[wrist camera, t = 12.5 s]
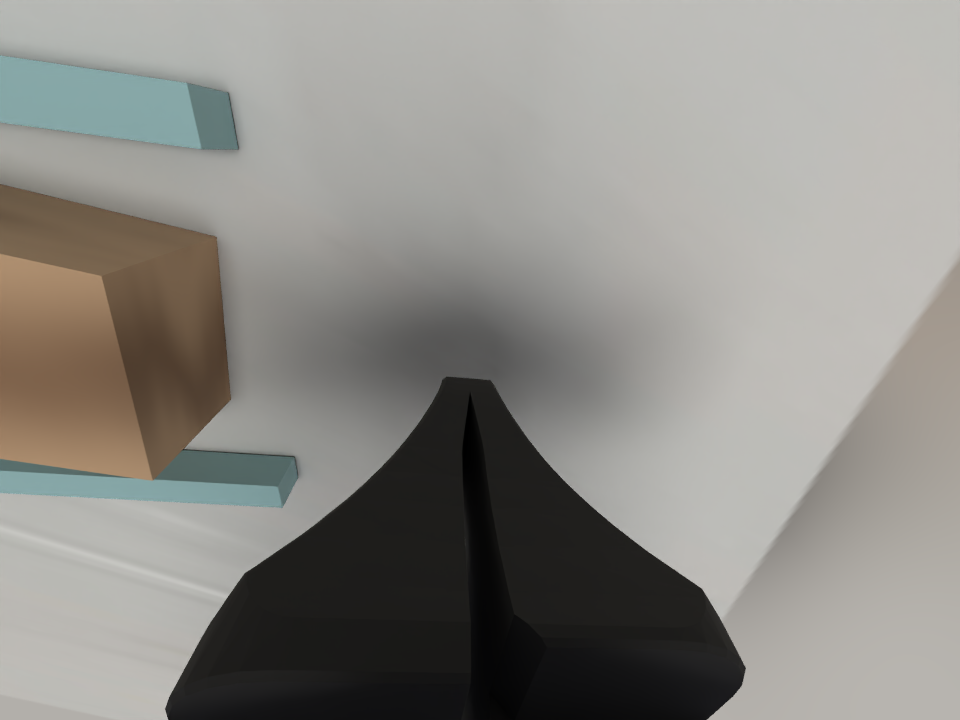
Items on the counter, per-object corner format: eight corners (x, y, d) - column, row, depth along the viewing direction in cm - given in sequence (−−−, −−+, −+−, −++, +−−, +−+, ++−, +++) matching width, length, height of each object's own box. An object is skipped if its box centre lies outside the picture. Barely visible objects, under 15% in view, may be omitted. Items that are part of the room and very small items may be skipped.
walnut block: (233, 396, 14) (152, 481, 10) (49, 362, 13) (-110, 443, 9) (220, 235, 11) (101, 275, 7) (-19, 176, 10) (-287, 190, 6)
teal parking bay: (298, 477, 15) (282, 507, 14) (-49, 456, 14) (-100, 487, 13) (228, 92, 9) (186, 82, 8) (-429, -4, 8) (-610, -35, 6)
